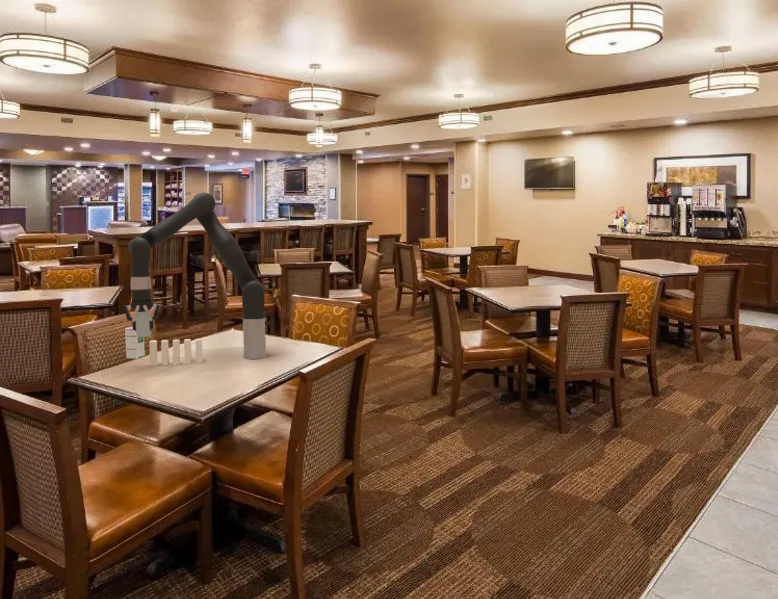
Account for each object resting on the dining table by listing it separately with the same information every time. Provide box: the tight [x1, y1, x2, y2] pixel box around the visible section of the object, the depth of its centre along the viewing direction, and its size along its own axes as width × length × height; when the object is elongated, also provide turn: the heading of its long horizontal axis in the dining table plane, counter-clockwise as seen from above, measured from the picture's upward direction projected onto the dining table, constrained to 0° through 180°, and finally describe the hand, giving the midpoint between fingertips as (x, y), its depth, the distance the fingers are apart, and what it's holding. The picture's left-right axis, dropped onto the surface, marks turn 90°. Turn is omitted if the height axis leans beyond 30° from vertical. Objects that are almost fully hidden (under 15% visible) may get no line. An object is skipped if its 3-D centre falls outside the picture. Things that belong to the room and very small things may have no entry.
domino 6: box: [194, 338, 203, 364], centre depth 251 cm, size 2×5×10 cm, turn 16°
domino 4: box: [172, 339, 181, 366], centre depth 249 cm, size 2×5×10 cm, turn 16°
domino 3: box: [160, 339, 170, 367], centre depth 247 cm, size 2×5×10 cm, turn 16°
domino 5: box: [183, 338, 192, 365], centre depth 250 cm, size 2×5×10 cm, turn 16°
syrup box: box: [124, 326, 147, 360], centre depth 259 cm, size 6×6×14 cm
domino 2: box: [148, 339, 158, 367], centre depth 246 cm, size 2×5×10 cm, turn 16°
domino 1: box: [136, 312, 152, 338], centre depth 238 cm, size 2×5×10 cm, turn 106°
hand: (143, 330), depth 238 cm, fingers closed on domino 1, 5 cm apart
